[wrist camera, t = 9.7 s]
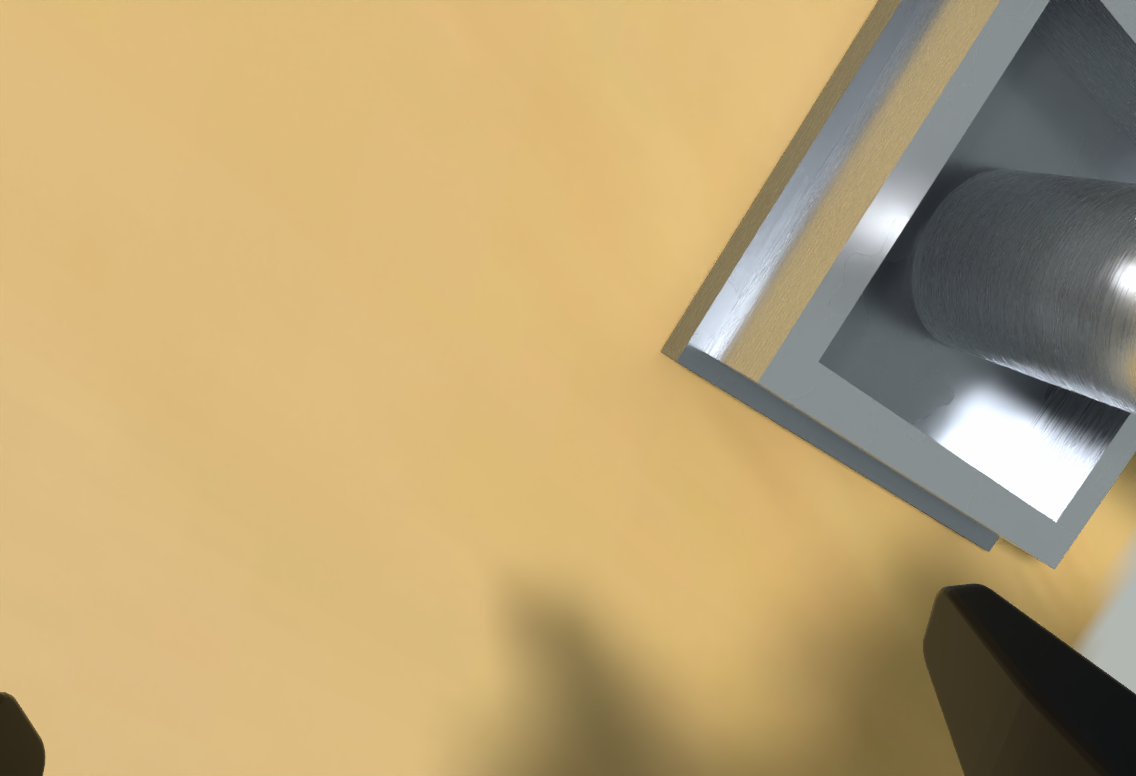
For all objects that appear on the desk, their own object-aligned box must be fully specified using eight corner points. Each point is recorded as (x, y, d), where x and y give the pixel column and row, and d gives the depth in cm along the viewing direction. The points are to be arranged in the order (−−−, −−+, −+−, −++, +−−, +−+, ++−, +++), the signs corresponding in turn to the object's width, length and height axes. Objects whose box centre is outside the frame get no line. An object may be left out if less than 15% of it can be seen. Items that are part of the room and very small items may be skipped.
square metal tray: (968, 538, 26) (1053, 592, 23) (660, 351, 20) (726, 392, 18) (1213, 175, 24) (1333, 186, 22) (956, -126, 19) (1075, -159, 16)
